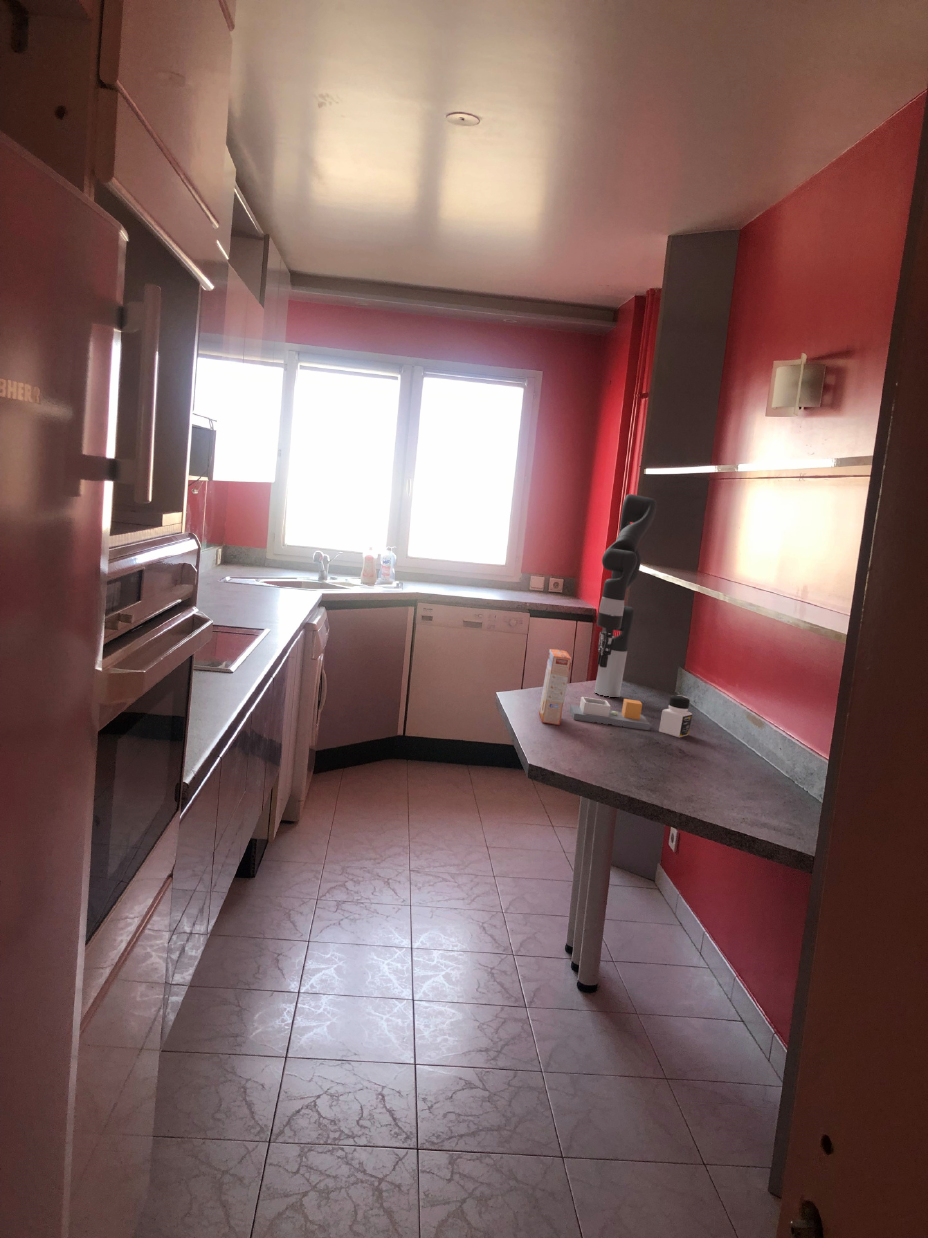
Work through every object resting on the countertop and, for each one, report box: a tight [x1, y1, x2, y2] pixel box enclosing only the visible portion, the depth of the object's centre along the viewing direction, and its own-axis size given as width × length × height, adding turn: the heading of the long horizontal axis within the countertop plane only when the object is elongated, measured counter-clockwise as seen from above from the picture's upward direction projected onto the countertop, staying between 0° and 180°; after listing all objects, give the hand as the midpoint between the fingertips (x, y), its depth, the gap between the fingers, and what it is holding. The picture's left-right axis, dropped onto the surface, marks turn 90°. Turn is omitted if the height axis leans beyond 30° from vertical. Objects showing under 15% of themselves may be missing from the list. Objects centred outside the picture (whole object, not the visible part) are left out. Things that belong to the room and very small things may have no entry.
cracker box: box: [538, 648, 572, 726], centre depth 275 cm, size 14×6×21 cm, turn 179°
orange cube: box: [621, 698, 643, 720], centre depth 288 cm, size 5×5×5 cm
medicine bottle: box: [658, 694, 693, 738], centre depth 282 cm, size 7×7×12 cm
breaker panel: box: [568, 696, 651, 731], centre depth 287 cm, size 12×24×6 cm, turn 90°
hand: (601, 665), depth 285 cm, fingers open, 3 cm apart
